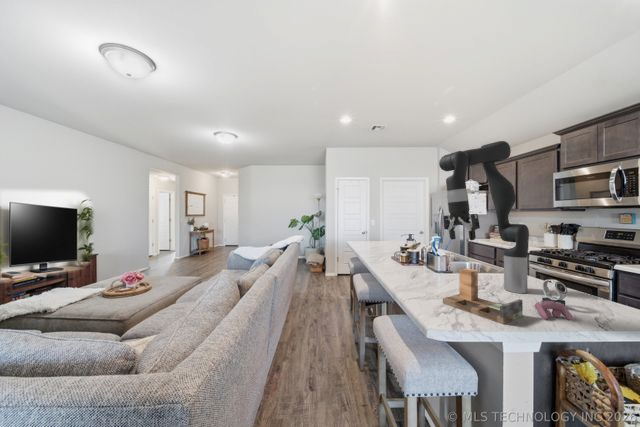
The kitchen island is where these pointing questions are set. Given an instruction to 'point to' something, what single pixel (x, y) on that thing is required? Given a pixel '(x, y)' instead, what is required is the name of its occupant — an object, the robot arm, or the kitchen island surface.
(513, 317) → the board
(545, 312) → the pink arched figurine
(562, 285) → the watch
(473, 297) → the block
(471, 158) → the robot arm
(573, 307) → the kitchen island surface
